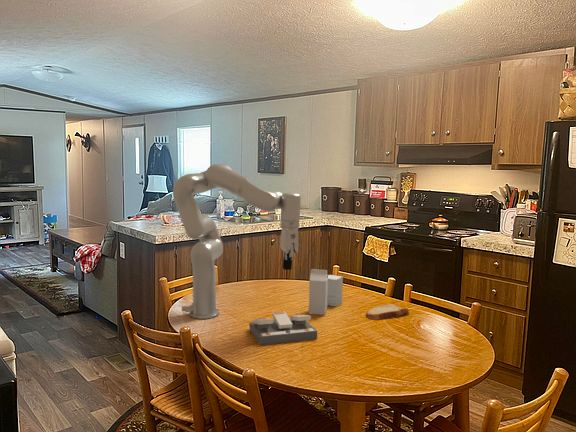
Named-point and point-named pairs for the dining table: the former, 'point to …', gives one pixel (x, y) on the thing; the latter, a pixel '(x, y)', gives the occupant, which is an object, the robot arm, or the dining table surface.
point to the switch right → (300, 317)
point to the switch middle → (282, 319)
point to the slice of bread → (386, 312)
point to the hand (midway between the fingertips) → (287, 269)
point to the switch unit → (282, 332)
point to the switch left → (263, 321)
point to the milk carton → (318, 292)
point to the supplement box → (334, 290)
